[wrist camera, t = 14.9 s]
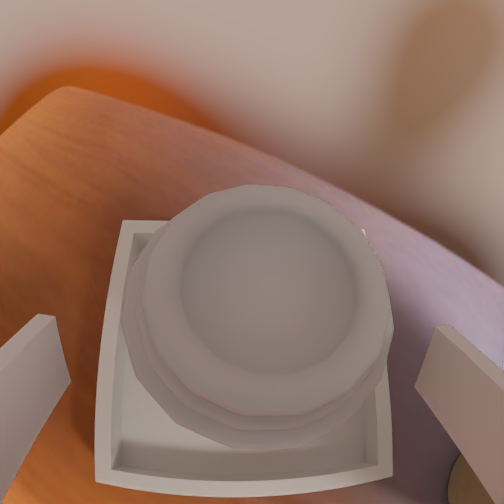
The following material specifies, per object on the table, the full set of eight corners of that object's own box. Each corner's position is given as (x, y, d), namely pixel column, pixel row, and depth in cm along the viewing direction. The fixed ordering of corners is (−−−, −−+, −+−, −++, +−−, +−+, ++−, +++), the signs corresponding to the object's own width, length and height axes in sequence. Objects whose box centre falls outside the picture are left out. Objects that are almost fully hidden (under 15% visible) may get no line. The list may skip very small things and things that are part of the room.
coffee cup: (142, 334, 19) (64, 230, 8) (262, 269, 22) (300, 130, 12) (219, 459, 16) (219, 524, 5) (341, 378, 19) (466, 321, 8)
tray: (350, 249, 25) (364, 229, 22) (371, 470, 16) (392, 476, 14) (132, 242, 23) (122, 220, 21) (111, 474, 15) (95, 481, 12)
